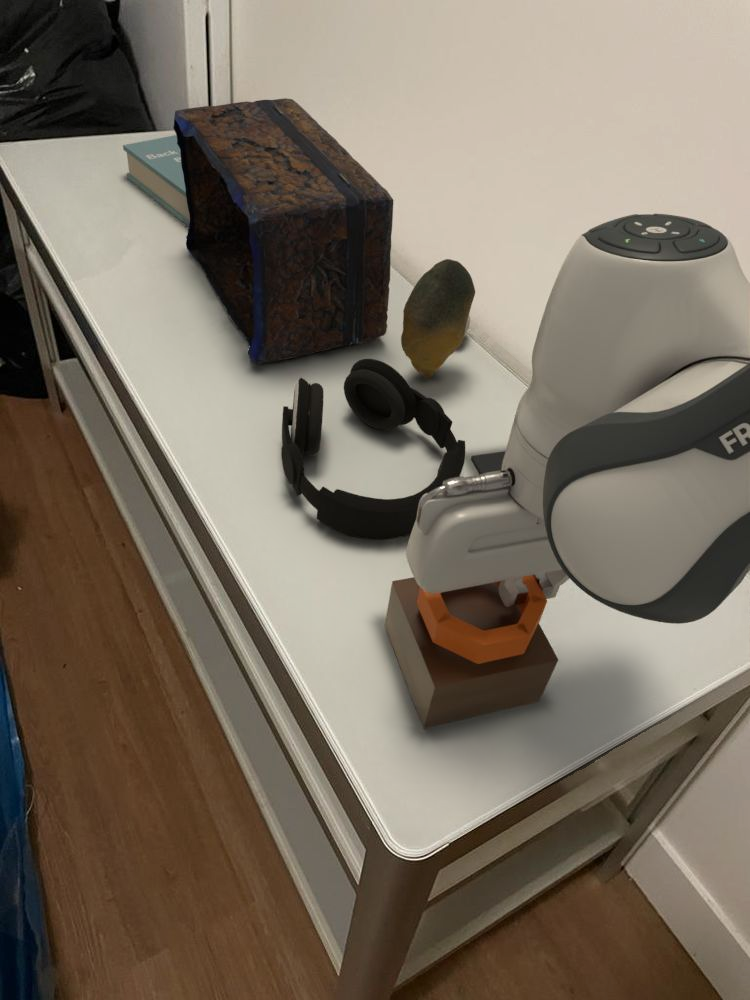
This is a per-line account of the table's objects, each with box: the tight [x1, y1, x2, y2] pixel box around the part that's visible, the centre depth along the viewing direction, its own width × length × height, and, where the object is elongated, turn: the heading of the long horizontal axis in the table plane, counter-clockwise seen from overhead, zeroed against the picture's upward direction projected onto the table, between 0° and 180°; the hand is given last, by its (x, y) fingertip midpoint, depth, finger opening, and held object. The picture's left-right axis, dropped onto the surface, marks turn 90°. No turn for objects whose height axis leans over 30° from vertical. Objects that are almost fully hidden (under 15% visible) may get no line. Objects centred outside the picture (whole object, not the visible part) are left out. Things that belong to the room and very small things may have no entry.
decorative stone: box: [400, 258, 476, 379], centre depth 88 cm, size 10×6×15 cm, turn 130°
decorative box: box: [173, 97, 395, 365], centre depth 95 cm, size 31×20×20 cm
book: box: [122, 134, 190, 227], centre depth 119 cm, size 23×16×5 cm
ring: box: [417, 575, 548, 664], centre depth 59 cm, size 9×9×2 cm
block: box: [384, 576, 559, 729], centre depth 63 cm, size 10×10×6 cm
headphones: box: [280, 358, 466, 540], centre depth 78 cm, size 18×8×20 cm
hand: (526, 595), depth 60 cm, fingers closed on ring, 1 cm apart
